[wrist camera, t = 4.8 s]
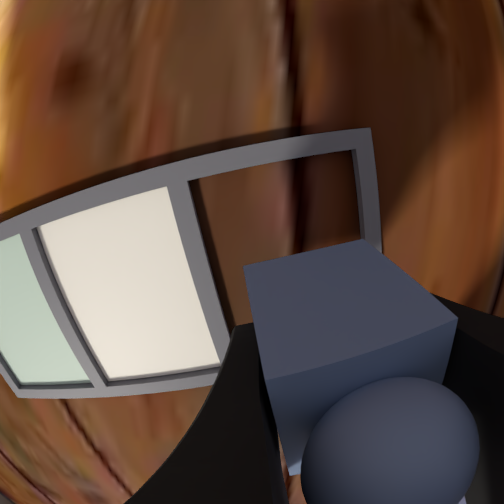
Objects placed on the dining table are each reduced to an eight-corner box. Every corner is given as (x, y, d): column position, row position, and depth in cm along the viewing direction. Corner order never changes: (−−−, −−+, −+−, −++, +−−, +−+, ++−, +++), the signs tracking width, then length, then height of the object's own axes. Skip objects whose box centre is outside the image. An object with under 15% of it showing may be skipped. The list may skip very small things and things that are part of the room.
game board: (365, 127, 12) (370, 127, 11) (376, 337, 15) (380, 343, 15) (-55, 250, 11) (-60, 253, 10) (20, 392, 15) (18, 397, 14)
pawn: (362, 238, 10) (557, 419, 2) (365, 334, 11) (474, 511, 4) (242, 265, 10) (301, 557, 2) (265, 361, 11) (313, 577, 3)
